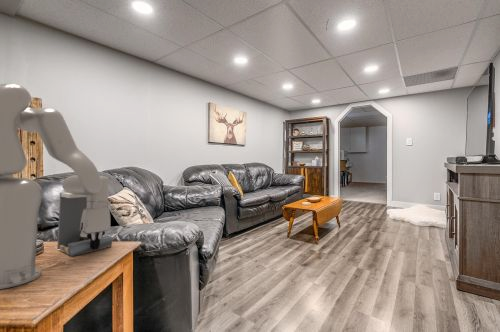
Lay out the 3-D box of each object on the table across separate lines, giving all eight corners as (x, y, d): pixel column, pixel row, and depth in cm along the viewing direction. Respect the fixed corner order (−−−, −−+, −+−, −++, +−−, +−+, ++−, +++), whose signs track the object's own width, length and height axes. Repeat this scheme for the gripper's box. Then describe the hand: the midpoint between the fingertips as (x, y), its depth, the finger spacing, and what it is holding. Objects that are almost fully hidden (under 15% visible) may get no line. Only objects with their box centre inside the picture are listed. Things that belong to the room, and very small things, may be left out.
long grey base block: (111, 246, 102) (112, 237, 102) (71, 256, 89) (72, 245, 90) (98, 241, 109) (98, 232, 109) (59, 250, 96) (60, 240, 96)
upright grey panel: (106, 245, 105) (108, 192, 106) (66, 254, 92) (69, 194, 93) (95, 241, 110) (97, 191, 111) (57, 249, 97) (60, 193, 98)
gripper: (111, 202, 104) (109, 243, 103) (72, 205, 92) (69, 251, 91) (119, 204, 100) (117, 246, 99) (79, 207, 88) (77, 255, 87)
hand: (94, 248), depth 95 cm, fingers closed
